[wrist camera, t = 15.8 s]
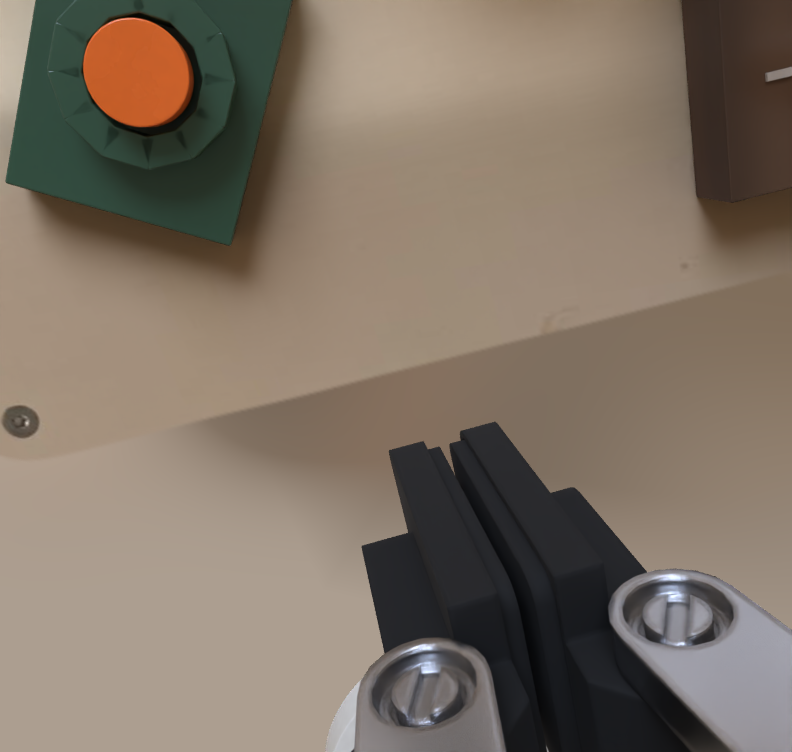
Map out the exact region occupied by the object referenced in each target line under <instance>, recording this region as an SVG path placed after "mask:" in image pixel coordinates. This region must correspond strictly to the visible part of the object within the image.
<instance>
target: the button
mask: <svg viewBox="0 0 792 752" xmlns="http://www.w3.org/2000/svg"><path fill="white" fill-rule="evenodd" d="M83 72H84V78H85V82H86V85H87V88H88V90H89V93H90V94H91V96H92V98H93V100H94V101H95V102H96V104H97V105H98V106H99V107H100V108H101V109H102V110H103V111H104V112H105V113H106V114H107V115H108V116H110V117H111V118H113V119H114V120H116V121H118V122H120V123H123V124H126V125H129V126H133V127H157V126H162V125H165V124H167V123H170V122H172V121H173V120H175V119H176V118H177V117H178V116H180V115H181V114H182V113H183V111H184V110H185V109H186V107H187V106H188V104H189V102H190V100H191V97H192V93H193V88H194V74H193V69H192V65H191V62H190V59H189V57H188V55H187V53H186V52H185V50H184V48H183V47H182V46H181V45H180V43H179V42H178V41H177V40H176V39H175V38H174V37H173V36H172V35H171V34H169V33H168V32H167V31H166V30H165V29H163V28H162V27H160V26H159V25H157V24H155V23H153V22H150V21H148V20H144V19H140V18H121V19H117V20H114V21H111V22H109V23H107V24H106V25H104V26H103V27H101V28H100V29H99V30H98V31H97V32H96V33H95V34H94V35H93V37H92V38H91V40H90V41H89V43H88V45H87V48H86V51H85V55H84V61H83Z"/></svg>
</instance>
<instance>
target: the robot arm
mask: <svg viewBox="0 0 792 752" xmlns="http://www.w3.org/2000/svg"><path fill="white" fill-rule="evenodd" d="M460 438H461V441H458V442H454V443H450V453H451V457H452V462H453V467H454V472H455V475H454V473H453V471H452V469H451V467H450V465H449V463H448V461H447V460H446V458H445V456H444V454H443V452H442V450H441V448H440V447H436V448H432V449H427V447H426V445H425V443H424V442H418V443H414V444H411V445H407V446H403V447H400V448H396V449H392V450H389V455H390V460H391V464H392V468H393V472H394V476H395V480H396V484H397V488H398V493H399V496H400V500H401V505H402V509H403V513H404V517H405V521H406V525H407V529H408V533H406V534H402V535H399V536H396V537H392V538H388V539H384V540H381V541H377V542H374V543H370V544H367V545H363V546H362V551H363V556H364V561H365V565H366V569H367V574H368V579H369V583H370V588H371V593H372V597H373V602H374V606H375V611H376V616H377V620H378V625H379V630H380V634H381V639H382V643H383V648H384V653H385V654H384V655H382V656H381V657H380V658H379V659H378V660H377V661H376V662H375V663H373V664H372V665H371V666H370V668H369V669H368V671H367V672H366V674H365V675H364V677H363V678H362V680H361V682H360V686H359V690H358V694H357V705H356V725H355V745H354V749H353V750H352V751H351V752H792V630H791V629H790V628H788V627H787V626H786V625H784V624H783V623H781V622H780V621H779V620H778V619H776V618H775V617H774V616H772V615H771V614H770V613H768V612H767V611H765V610H764V609H763V608H761V607H760V606H759V605H757V604H756V603H755V602H753V601H752V600H751V599H749V598H748V597H747V596H745V595H744V594H743V593H741V592H740V591H738V590H737V589H736V588H734V587H733V586H732V585H729V584H728V583H726V582H724V581H723V580H721V579H719V578H717V577H715V576H712V575H709V574H705V573H702V572H698V571H693V570H683V569H666V570H655V571H651V572H648V573H647V571H646V570H645V569H644V568H643V567H642V565H641V564H640V563H639V562H638V561H637V560H636V558H635V557H634V556H633V555H632V554H631V553H630V551H629V550H628V549H627V548H626V547H625V545H624V544H623V543H622V542H621V541H620V539H619V538H618V537H617V536H616V535H615V534H614V532H613V531H612V530H611V529H610V528H609V526H608V525H607V524H606V523H605V522H604V521H603V519H602V518H601V517H600V516H599V515H598V514H597V512H596V511H595V510H594V509H593V508H592V506H591V505H590V504H589V503H588V502H587V500H586V499H585V498H584V497H583V496H582V495H581V493H580V492H579V491H578V490H577V489H575V488H567V489H563V490H560V491H556V492H553V493H550V492H549V491H548V489H547V488H546V487H545V485H544V484H543V483H542V481H541V480H540V479H539V477H538V476H537V475H536V473H535V472H534V471H533V470H532V468H531V467H530V466H529V464H528V463H527V462H526V460H525V459H524V458H523V456H522V455H521V454H520V453H519V451H518V450H517V449H516V447H515V446H514V445H513V443H512V442H511V441H510V440H509V438H508V437H507V436H506V434H505V433H504V432H503V430H502V429H501V428H500V427H499V425H498V424H497V423H496V422H492V423H488V424H485V425H481V426H478V427H474V428H470V429H466V430H463V431H461V432H460ZM455 476H456V477H455Z"/></svg>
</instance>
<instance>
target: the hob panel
mask: <svg viewBox="0 0 792 752" xmlns="http://www.w3.org/2000/svg"><path fill="white" fill-rule="evenodd" d="M681 1H682V13H683V26H684V39H685V51H686V64H687V77H688V90H689V102H690V115H691V128H692V140H693V153H694V166H695V179H696V191H697V197H701V198H707V199H713V200H719V201H725V202H731V203H733V202H737V201H741V200H745V199H749V198H752V197H756V196H760V195H764V194H768V193H772V192H776V191H780V190H784V189H788V188H792V0H681Z"/></svg>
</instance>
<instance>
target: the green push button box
mask: <svg viewBox="0 0 792 752" xmlns="http://www.w3.org/2000/svg"><path fill="white" fill-rule="evenodd" d="M292 2H293V0H36V2H35V8H34V14H33V20H32V26H31V32H30V38H29V44H28V50H27V56H26V62H25V67H24V73H23V79H22V85H21V91H20V97H19V103H18V109H17V115H16V121H15V127H14V133H13V139H12V145H11V151H10V157H9V163H8V169H7V175H6V183H8V184H11V185H15V186H18V187H22V188H25V189H29V190H32V191H36V192H40V193H43V194H47V195H50V196H54V197H57V198H61V199H65V200H68V201H72V202H75V203H79V204H82V205H86V206H89V207H93V208H97V209H100V210H104V211H107V212H111V213H114V214H118V215H121V216H125V217H129V218H132V219H136V220H139V221H143V222H146V223H150V224H153V225H157V226H161V227H164V228H168V229H171V230H175V231H178V232H182V233H185V234H189V235H193V236H196V237H200V238H203V239H207V240H210V241H214V242H217V243H221V244H225V245H228V246H230V245H231V243H232V240H233V237H234V233H235V229H236V225H237V221H238V217H239V213H240V209H241V205H242V201H243V197H244V193H245V189H246V185H247V181H248V177H249V173H250V169H251V165H252V161H253V157H254V153H255V149H256V145H257V141H258V137H259V133H260V129H261V125H262V121H263V117H264V113H265V109H266V105H267V101H268V97H269V93H270V89H271V85H272V81H273V77H274V73H275V69H276V65H277V61H278V57H279V53H280V49H281V45H282V41H283V37H284V34H285V30H286V26H287V22H288V18H289V14H290V10H291V6H292ZM121 18H140V19H144V20H148V21H150V22H153V23H155V24H157V25H159V26H160V27H162V28H163V29H165V30H166V31H167V32H168V33H169V34H171V35H172V36H173V37H174V38H175V39H176V40H177V41H178V42H179V43H180V45H181V46H182V47H183V48H184V50H185V52H186V53H187V55H188V57H189V59H190V62H191V65H192V69H193V74H194V88H193V93H192V97H191V100H190V102H189V104H188V106H187V107H186V109H185V110H184V111H183V113H182V114H181V115H180V116H178V117H177V118H176V119H175V120H173V121H172V122H170V123H167V124H165V125H162V126H157V127H133V126H129V125H126V124H123V123H120V122H118V121H116V120H114V119H113V118H111V117H110V116H108V115H107V114H106V113H105V112H104V111H103V110H102V109H101V108H100V107H99V106H98V105H97V104H96V102H95V101H94V100H93V98H92V96H91V94H90V93H89V90H88V88H87V85H86V82H85V78H84V72H83V61H84V55H85V51H86V48H87V45H88V43H89V41H90V40H91V38H92V37H93V35H94V34H95V33H96V32H97V31H98V30H99V29H100V28H101V27H103V26H104V25H106V24H107V23H109V22H111V21H114V20H117V19H121Z"/></svg>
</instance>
